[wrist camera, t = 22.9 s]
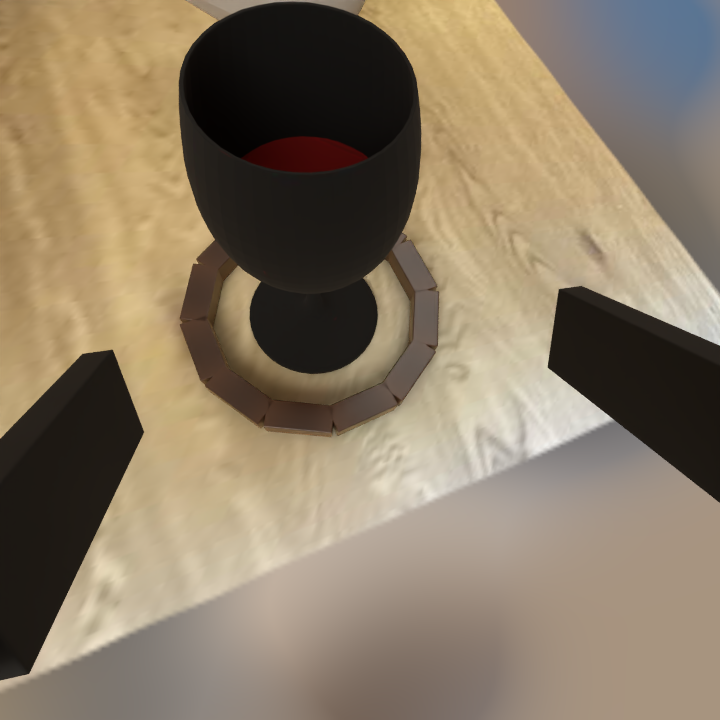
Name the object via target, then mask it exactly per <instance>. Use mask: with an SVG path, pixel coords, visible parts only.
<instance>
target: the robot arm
mask: <svg viewBox="0 0 720 720" xmlns="http://www.w3.org/2000/svg"><path fill="white" fill-rule="evenodd" d="M548 368H549V369H550V370H552V371H553V372H554V373H555V374H557V375H558V376H559V377H560V378H562V379H563V380H564V381H566V382H567V383H568V384H569V385H571V386H572V387H573V388H574V389H576V390H577V391H578V392H580V393H581V394H582V395H583V396H585V397H586V398H587V399H588V400H590V401H591V402H592V403H594V404H595V405H596V406H597V407H599V408H600V409H601V410H602V411H604V412H605V413H606V414H608V415H609V416H610V417H611V418H613V419H614V420H615V421H616V422H618V423H619V424H620V425H622V426H623V427H624V428H625V429H627V430H628V431H629V432H630V433H632V434H633V435H634V436H636V437H637V438H638V439H639V440H641V441H642V442H643V443H644V444H646V445H647V446H648V447H650V448H651V449H652V450H653V451H655V452H656V453H657V454H658V455H660V456H661V457H662V458H664V459H665V460H666V461H667V462H669V463H670V464H671V465H673V466H674V467H675V468H676V469H678V470H679V471H680V472H682V473H683V474H684V475H685V476H686V477H688V478H689V479H690V480H692V481H693V482H694V483H695V484H697V485H698V486H699V487H700V488H702V489H703V490H704V491H706V492H707V493H708V494H709V495H711V496H712V497H713V498H715V499H716V500H717V501H718V502H720V346H719V345H717V344H714V343H712V342H710V341H708V340H705V339H703V338H701V337H698V336H696V335H694V334H691V333H689V332H687V331H684V330H682V329H680V328H677V327H675V326H673V325H670V324H668V323H666V322H664V321H661V320H659V319H657V318H654V317H652V316H650V315H647V314H645V313H643V312H640V311H638V310H636V309H633V308H631V307H629V306H626V305H624V304H622V303H620V302H617V301H615V300H613V299H610V298H608V297H606V296H603V295H601V294H599V293H596V292H594V291H592V290H589V289H587V288H585V287H582V286H579V287H571V288H564V289H559V292H558V299H557V306H556V313H555V320H554V327H553V334H552V341H551V348H550V355H549V362H548ZM143 433H144V431H143V428H142V425H141V423H140V420H139V417H138V415H137V412H136V410H135V407H134V404H133V402H132V399H131V396H130V394H129V391H128V389H127V386H126V383H125V381H124V378H123V375H122V373H121V370H120V368H119V365H118V362H117V360H116V357H115V354H114V352H113V350H108V351H100V352H93V353H86V354H82V355H81V356H80V357H79V358H78V359H77V360H76V361H75V362H74V363H73V364H72V365H71V367H70V368H69V369H68V370H67V371H66V372H65V373H64V374H63V375H62V376H61V377H60V378H59V379H58V380H57V381H56V382H55V383H54V384H53V385H52V386H51V387H50V388H49V389H48V390H47V391H46V392H45V393H44V394H43V395H42V396H41V397H40V398H39V400H38V401H37V402H36V403H35V404H34V405H33V406H32V407H31V408H30V409H29V410H28V411H27V412H26V413H25V414H24V415H23V416H22V417H21V418H20V419H19V420H18V421H17V422H16V423H15V424H14V425H13V426H12V427H11V428H10V429H9V430H8V431H7V432H6V434H5V435H4V436H3V437H2V438H1V439H0V680H4V679H8V678H13V677H17V676H22V675H26V674H29V673H30V671H31V669H32V667H33V665H34V663H35V660H36V658H37V656H38V654H39V652H40V650H41V648H42V646H43V644H44V641H45V639H46V637H47V635H48V633H49V631H50V629H51V627H52V625H53V623H54V620H55V618H56V616H57V614H58V612H59V610H60V608H61V606H62V604H63V602H64V599H65V597H66V595H67V593H68V591H69V589H70V587H71V585H72V583H73V581H74V578H75V576H76V574H77V572H78V570H79V568H80V566H81V564H82V562H83V560H84V557H85V555H86V553H87V551H88V549H89V547H90V545H91V543H92V541H93V539H94V536H95V534H96V532H97V530H98V528H99V526H100V524H101V522H102V520H103V518H104V515H105V513H106V511H107V509H108V507H109V505H110V503H111V501H112V499H113V497H114V494H115V492H116V490H117V488H118V486H119V484H120V482H121V480H122V478H123V476H124V473H125V471H126V469H127V467H128V465H129V463H130V461H131V459H132V457H133V454H134V452H135V450H136V448H137V446H138V444H139V442H140V440H141V438H142V436H143Z"/></svg>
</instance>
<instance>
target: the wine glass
mask: <svg viewBox="0 0 720 720" xmlns="http://www.w3.org/2000/svg"><path fill="white" fill-rule="evenodd" d="M179 114H180V128H181V138H182V146H183V155H184V161H185V166H186V171H187V176H188V179H189V182H190V185H191V188H192V191H193V194H194V197H195V201H196V204H197V206H198V209H199V211H200V213H201V215H202V217H203V219H204V221H205V223H206V225H207V227H208V229H209V230H210V232H211V234H212V235H213V237H214V239H215V240H216V241H217V242H218V244H219V245H220V246H221V247H222V249H223V250H224V251H225V252H226V254H227V255H228V256H229V257H230V258H231V259H232V260H233V261H234V262H235V263H236V264H238V265H239V266H240V267H241V268H242V269H243V270H244V271H245V272H247V273H249V274H250V275H252V276H253V277H255V278H256V279H258V280H260V281H261V283H260V284H259V286H258V288H257V289H256V291H255V293H254V296H253V298H252V302H251V306H250V323H251V328H252V331H253V334H254V337H255V339H256V341H257V343H258V344H259V346H260V347H261V349H262V350H263V351H264V352H265V354H267V355H268V356H269V357H270V358H271V359H272V360H273V361H275V362H276V363H278V364H279V365H281V366H283V367H285V368H288V369H290V370H293V371H297V372H301V373H309V374H318V373H326V372H331V371H334V370H337V369H340V368H342V367H344V366H346V365H348V364H350V363H351V362H353V361H354V360H355V359H357V358H358V357H359V356H360V355H361V354H362V353H363V352H364V351H365V349H366V348H367V346H368V345H369V344H370V342H371V340H372V337H373V335H374V332H375V329H376V325H377V317H378V314H377V305H376V301H375V298H374V295H373V293H372V291H371V289H370V287H369V286H368V284H367V283H366V281H365V280H364V279H363V277H364V276H366V275H367V274H369V273H370V272H371V271H372V270H374V269H375V268H376V267H377V266H378V265H379V264H380V263H381V262H382V261H383V260H384V259H385V258H386V256H387V255H388V254H389V252H390V251H391V250H392V248H393V247H394V245H395V244H396V242H397V241H398V239H399V237H400V235H401V233H402V231H403V229H404V227H405V225H406V223H407V221H408V218H409V215H410V212H411V209H412V205H413V202H414V198H415V194H416V190H417V184H418V179H419V168H420V156H421V118H420V106H419V97H418V88H417V81H416V77H415V74H414V71H413V68H412V66H411V64H410V62H409V60H408V58H407V57H406V55H405V53H404V52H403V51H402V49H401V48H400V47H399V46H398V44H397V43H396V42H395V41H394V40H393V39H392V38H391V37H390V36H389V35H387V34H386V33H385V32H384V31H383V30H381V29H380V28H378V27H377V26H376V25H374V24H373V23H371V22H369V21H367V20H365V19H364V18H362V17H360V16H358V15H355V14H353V13H350V12H348V11H345V10H343V9H339V8H335V7H331V6H328V5H322V4H316V3H311V2H293V1H292V2H273V3H267V4H262V5H256V6H253V7H249V8H245V9H241V10H239V11H237V12H235V13H233V14H230V15H228V16H226V17H225V18H223V19H221V20H219V21H218V22H216V23H214V24H213V25H212V26H210V27H209V28H208V29H207V30H206V31H204V32H203V33H202V34H201V35H200V36H199V38H198V39H197V40H196V41H195V42H194V43H193V44H192V46H191V48H190V49H189V51H188V53H187V54H186V56H185V58H184V61H183V64H182V67H181V70H180V78H179Z"/></svg>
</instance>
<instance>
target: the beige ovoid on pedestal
mask: <svg viewBox="0 0 720 720" xmlns="http://www.w3.org/2000/svg"><path fill="white" fill-rule="evenodd" d="M186 1H187V2H189V3H191V4H192V5H194V6H195V7H197V8H199V9H200V10H202V11H204V12H205V13H207V14H209V15H211V16H212V17H214V18H216V19H217V20H221V19H223V18H225V17H226V16H228V15H230V14H233V13H235V12H237V11H239V10H241V9H245V8H249V7H253V6H256V5H262V4H267V3H273V2H292V1H293V2H311V3H316V4H322V5H328V6H331V7H335V8H339V9H343V10H345V11H348V12H350V13H353V14H355V15H358V14H359V12H360V11H361V9H362V7H363V5H364V2H365V0H186Z"/></svg>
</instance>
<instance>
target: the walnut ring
mask: <svg viewBox="0 0 720 720" xmlns="http://www.w3.org/2000/svg"><path fill="white" fill-rule="evenodd" d="M406 238H407V236H406V235H405V234H403V233H401V235H400V237H399V239H398V241H397V242H396V244H395V245H394V247H393V248H392V250H391V251H390V252H389V254H388V255H387V256H386V258H385V260H387V261H388V262H389V263H390V265H391V267H392V269H393V270H394V272H395V274H396V276H397V278H398V279H399V281H400V283H401V285H402V287H403V289H404V290H405V292H406V294H407V296H408V298H409V299H410V301H411V302H410V324H409V345H408V347H407V348H406V350H405V351H404V353H403V354H402V355H401V357H400V358H399V360H398V361H397V362H396V364H395V365H394V367H393V368H392V370H391V371H390V372H389V374H388V375H387V377H386V378H385V379H384V381H383V382H382V383H380V384H378V385H376V386H373V387H371V388H369V389H367V390H364V391H362V392H360V393H357V394H355V395H353V396H351V397H348V398H346V399H344V400H342V401H339V402H337V403H335V404H332V405H321V404H311V403H301V402H290V401H280V400H272V399H270V398H269V397H268V396H266V395H265V394H264V393H262V392H261V391H259V390H258V389H257V388H255V387H254V386H252V385H251V384H250V383H248V382H247V381H245V380H244V379H243V378H241V377H240V376H239V375H237V374H236V373H234V372H233V371H232V370H230V369H229V366H228V364H227V361H226V359H225V356H224V354H223V351H222V349H221V346H220V344H219V341H218V338H217V336H216V333H215V331H214V328H213V325H214V321H215V316H216V311H217V307H218V302H219V297H220V293H221V288H222V284H223V280H224V279H225V278H226V277H227V276H228V275H229V274H230V273H231V272H232V271H233V270H234V269H235V268H236V267H237V265H238V264H236V263H235V262H234V261H233V260H232V259H231V258H230V257H229V256H228V255H227V254H226V252H225V251H224V250H223V249H222V247H221V246H220V245H219V244H218V242H217V241H216V240H215V241H214V242H213V243H212V244H211V245H210V246H209V247H208V248H207V249H206V250H205V251H204V252H203V253H202V254H201V255H200V256H199V257H198V258H197V259H196V260H197V262H198V263H199V264H193V266H192V271H191V275H190V279H189V283H188V287H187V291H186V295H185V299H184V303H183V307H182V311H181V315H180V320H181V321H182V323H183V324H180V326H181V329H182V332H183V335H184V337H185V340H186V343H187V345H188V348H189V351H190V353H191V356H192V359H193V361H194V364H195V367H196V370H197V372H198V375H199V378H200V380H201V381H202V382H203V383H204V384H205V387H206V388H207V389H208V390H209V391H210V392H211V393H213V394H214V395H216V396H217V397H218V398H220V399H221V400H222V401H224V402H225V403H226V404H228V405H229V406H231V407H232V408H233V409H235V410H236V411H237V412H239V413H240V414H241V415H243V416H244V417H246V418H247V419H248V420H250V421H251V422H252V423H254V424H255V425H256V426H258V427H259V428H262V427H263V426H264V428H265V429H266V430H267V431H273V432H283V433H294V434H304V435H315V436H326V437H331V436H332V429H333V427H334V430H335V432H336V434H337V436H339V435H341V434H343V433H345V432H347V431H350V430H352V429H354V428H356V427H358V426H361V425H363V424H365V423H367V422H369V421H371V420H374V419H376V418H378V417H380V416H382V415H385V414H387V413H389V412H391V411H393V410H394V409H395V408H396V407H397V405H398V406H399V405H400V404H401V403H402V401H403V400H404V399H405V397H406V396H407V394H408V393H409V391H410V390H411V388H412V387H413V385H414V384H415V382H416V381H417V379H418V378H419V376H420V375H421V373H422V372H423V370H424V369H425V367H426V366H427V365H428V363H429V362H430V360H431V359H432V357H433V356H434V354H435V353H436V351H435V349H436V348H437V346H438V313H439V291H435V290H436V288H437V284H436V283H435V281H434V279H433V277H432V276H431V274H430V272H429V271H428V269H427V267H426V265H425V264H424V262H423V260H422V258H421V257H420V255H419V253H418V252H417V250H416V248H415V246H414V245H413V243H412V241H411V240H408V241H406ZM405 241H406V242H405Z"/></svg>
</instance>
